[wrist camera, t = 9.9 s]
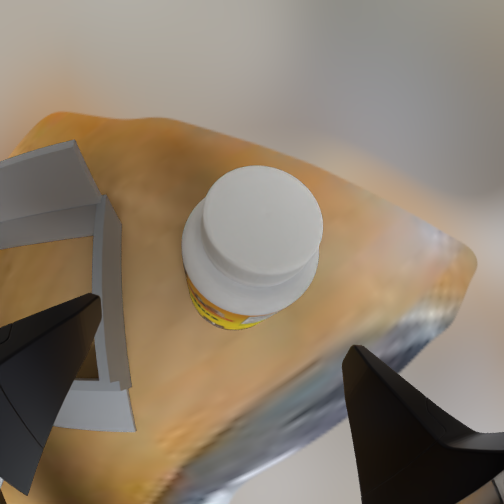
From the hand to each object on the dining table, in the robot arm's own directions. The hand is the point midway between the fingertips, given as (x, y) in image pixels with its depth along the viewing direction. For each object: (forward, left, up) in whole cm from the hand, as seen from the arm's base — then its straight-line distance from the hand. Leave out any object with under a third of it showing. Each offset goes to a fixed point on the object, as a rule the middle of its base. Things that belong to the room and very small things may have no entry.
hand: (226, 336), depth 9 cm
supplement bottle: (+3, -2, -9) cm, 9 cm away
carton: (+2, +12, -8) cm, 15 cm away
